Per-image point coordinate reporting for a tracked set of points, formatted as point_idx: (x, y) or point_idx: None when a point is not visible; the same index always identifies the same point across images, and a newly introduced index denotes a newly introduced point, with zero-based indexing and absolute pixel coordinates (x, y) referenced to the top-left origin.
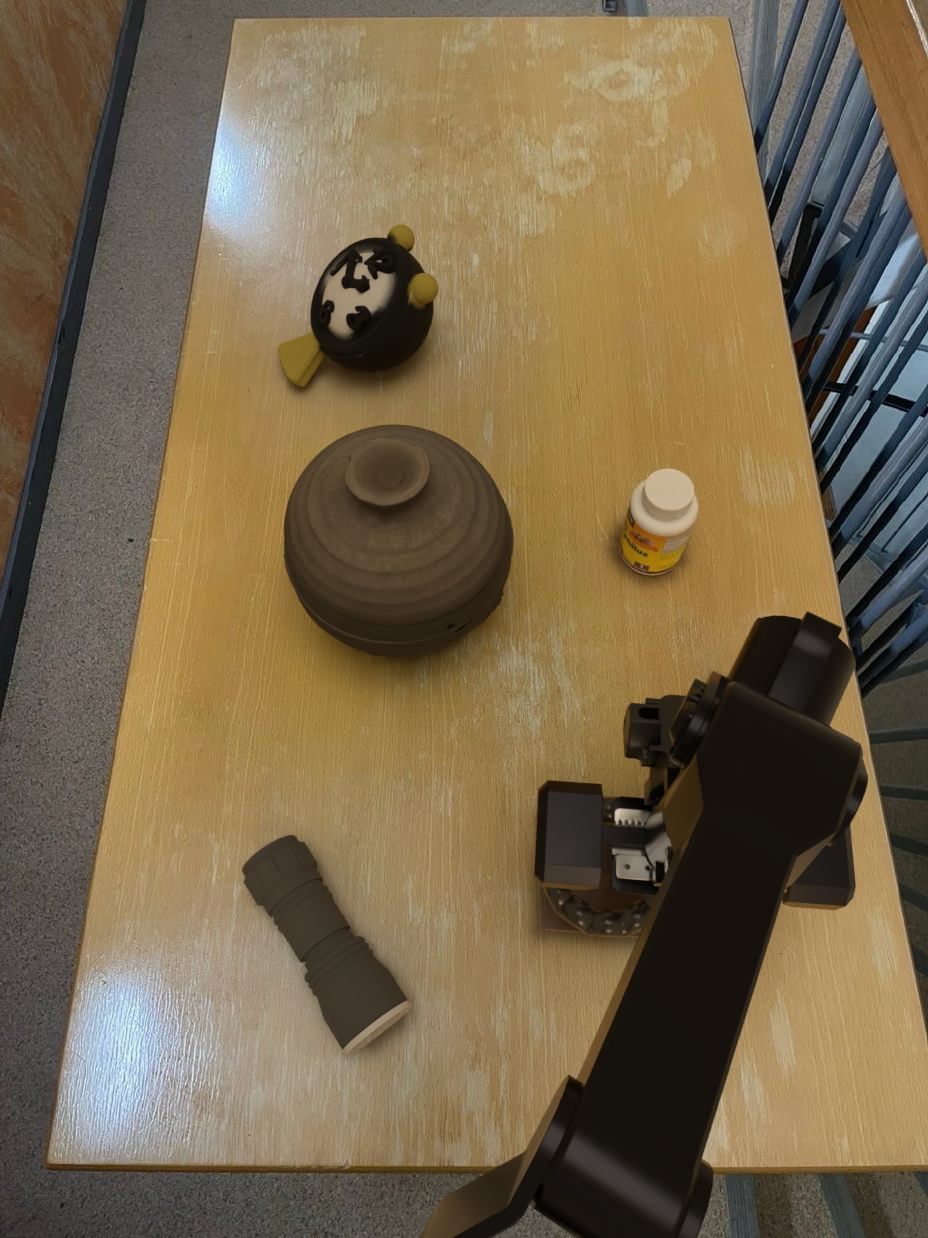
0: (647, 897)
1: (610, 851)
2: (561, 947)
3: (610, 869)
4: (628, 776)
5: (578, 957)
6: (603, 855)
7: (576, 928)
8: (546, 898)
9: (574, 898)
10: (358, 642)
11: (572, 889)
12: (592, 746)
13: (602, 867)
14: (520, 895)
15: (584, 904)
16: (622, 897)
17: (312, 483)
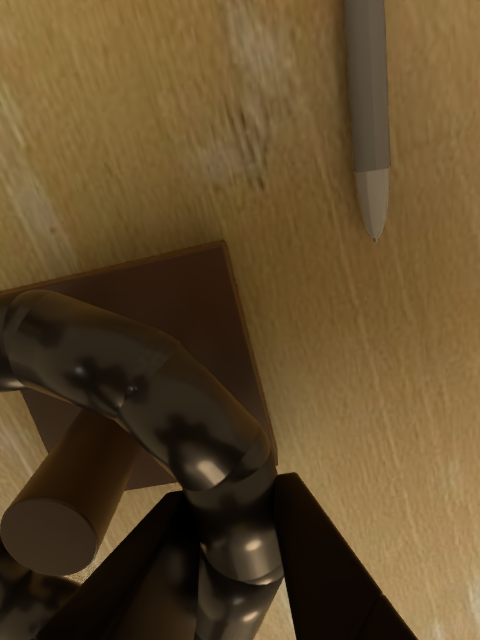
0: (197, 616)
1: (36, 510)
2: (121, 498)
3: (60, 557)
4: (134, 110)
5: None
6: (20, 526)
7: (126, 486)
8: (49, 451)
9: (8, 617)
10: None
11: (8, 571)
12: (14, 52)
13: (34, 556)
14: (13, 438)
15: (40, 625)
16: None
17: None
